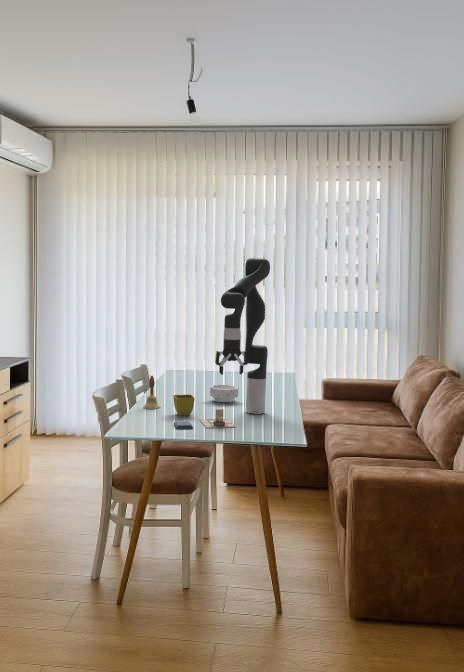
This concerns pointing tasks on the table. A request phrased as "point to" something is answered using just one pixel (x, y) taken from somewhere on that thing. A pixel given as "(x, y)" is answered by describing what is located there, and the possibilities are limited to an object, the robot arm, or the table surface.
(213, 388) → the stone bowl
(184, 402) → the flower pot
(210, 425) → the sheet
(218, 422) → the stamp
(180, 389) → the table surface
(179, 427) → the ink pad
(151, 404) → the hand bell
